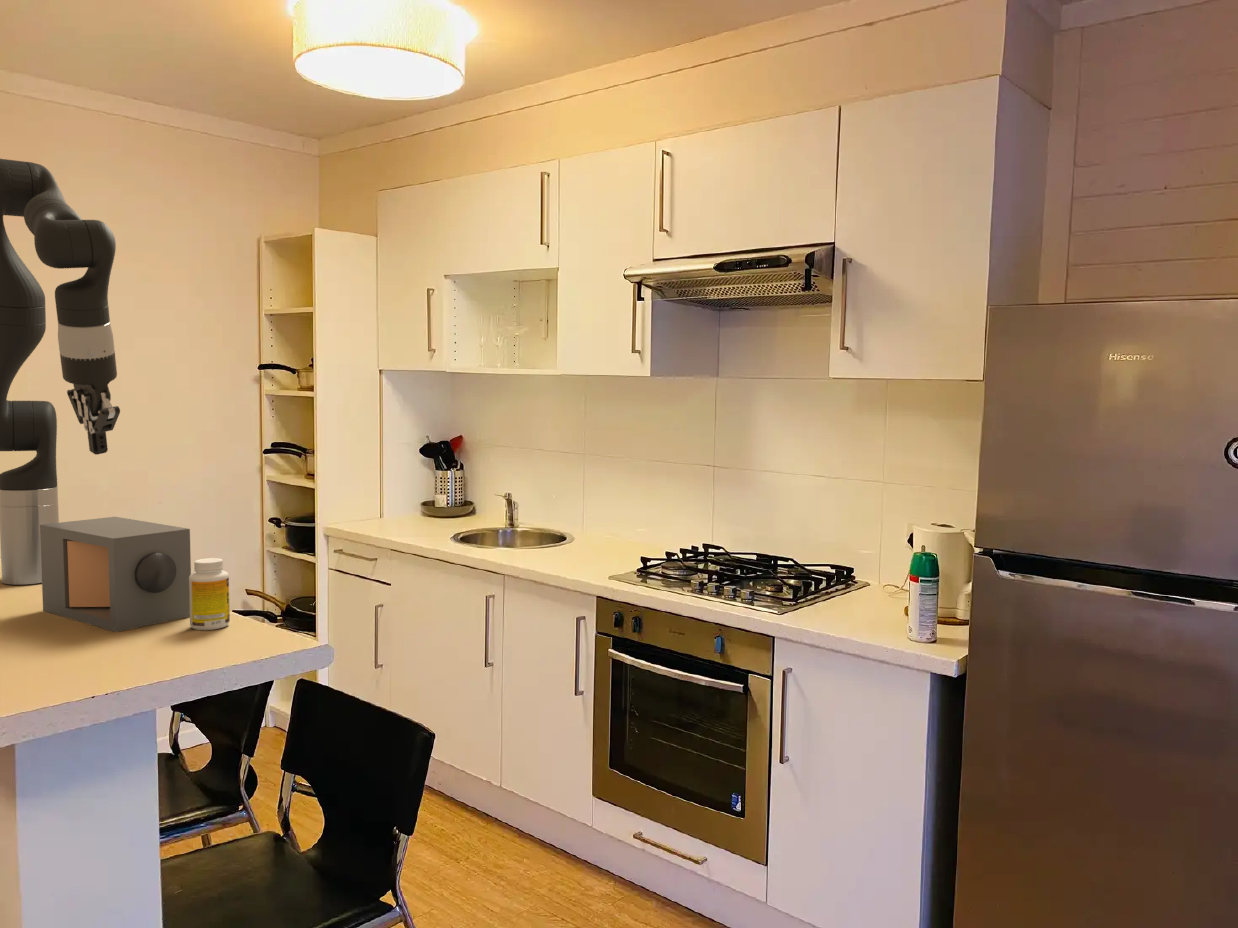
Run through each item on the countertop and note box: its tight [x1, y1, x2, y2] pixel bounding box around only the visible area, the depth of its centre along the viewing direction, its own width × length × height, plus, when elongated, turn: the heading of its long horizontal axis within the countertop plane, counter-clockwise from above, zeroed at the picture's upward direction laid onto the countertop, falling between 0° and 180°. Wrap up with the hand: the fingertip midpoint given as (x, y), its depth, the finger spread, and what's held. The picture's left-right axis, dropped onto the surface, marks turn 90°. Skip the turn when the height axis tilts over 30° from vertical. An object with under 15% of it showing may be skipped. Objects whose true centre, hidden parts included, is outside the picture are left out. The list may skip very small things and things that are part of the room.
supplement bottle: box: [189, 557, 231, 631], centre depth 141 cm, size 6×6×10 cm
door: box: [67, 540, 110, 607], centre depth 145 cm, size 12×2×10 cm, turn 94°
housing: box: [40, 516, 192, 633], centre depth 147 cm, size 23×12×14 cm, turn 57°
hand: (98, 452), depth 151 cm, fingers closed
